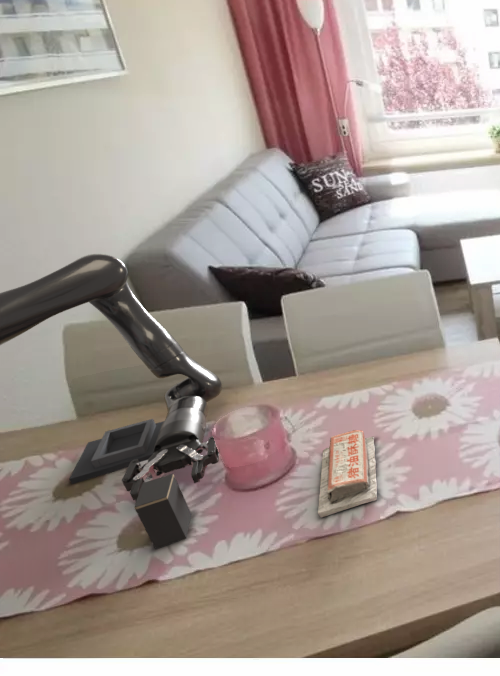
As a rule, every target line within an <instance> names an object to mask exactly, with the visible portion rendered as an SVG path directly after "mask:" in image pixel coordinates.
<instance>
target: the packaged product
mask: <svg viewBox="0 0 500 676" xmlns="http://www.w3.org/2000/svg"><path fill="white" fill-rule="evenodd" d="M329 438H330V439H329V446H328V447H326V448H324V449H323V450H322V457H321V472H320V473H321V474H320V482H319V483H320V484H319V496H318V507H317V508H318V510H317V514H318V516H319V517H320V518H325V517H327V516H331V515H334V514H336V513H339V512H342V511H345V510H348V509H352V508H354V507H357V506H361V505H364V504H367V503H371V502H375V501H378V490H377V489H378V488H377V487H378V486H377V474H376V473H377V472H376V466H377V465H376V463H377V460H376V455H375V454H376V448H375V447H376V446H375V437H374V436H369V437H365V433H364V431H363V430H361V429H360V430H357V429H353V430H350V431H347V432H342V433H339V434H336V435H332V436H330V437H329Z"/></svg>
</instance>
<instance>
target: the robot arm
mask: <svg viewBox="0 0 500 676" xmlns="http://www.w3.org/2000/svg"><path fill="white" fill-rule="evenodd" d="M128 276H129V272H128V268H127V266H126V265H125V263H124V262H123V261H122V260H120V259H119V258H117V257H116V256H113V255H110V254H106V253H91V254H86V255H84V256H81V257H79V258H77V259H76V260H74V261H72V262H71V263H68V264H66V265H65V266H63V267H60V268H59V269H56V270H55V271H53V272H51V273H49V274H47V275H45V276H42V277H40V278H38V279H36V280H34V281H31V282H29V283H27V284H24V285H21V286H18V287H15V288H11V289H8V290H4V291H0V346H2V345H3V344H4V345H5V344H6V343H8V342H9V341H11V340H13V339H15V338H17V337H19V336H21V335H22V334H24V333H26V332H28V331H29V330H31V329H33V328H35V327H36V326H38V325H40V324H41V323H43V322H45V321H46V320H48V319H50V318H52V317H55V316H56V315H59V314H62V313H63V312H66V311H68V310H71V309H74V308H77V307H79V306H83V305H84V304H88V303H89V304H90V305H92V307H94V308H95V309H96V310H97V311H99V312H100V313H101V314H102V315H103V316H104V317H105V318H106V319H107V320H108V321H109V322H110V323H111V324H112V325H113V327H114V328H115V329H116V330H117V332H119V334H120V335H121V336H122V338H123V339H124V340H125V341H126V343H127V345H128V346H129V347H130V348H131V349H132V351H133V352H134V353H135V354H136V356H137V357H138V358H139V360H141V362H142V363H143V364H144V365H145V366H146V367H147V369H148V370H149V371H150V372H151V374H153V376H154V377H155V378H157V379H165V378H169V377H173V376H175V375H182V376H185V377H186V378H185V379H182V380H180V381H179V382H177V383H176V384H174V385H172V386H170V387H169V388H168V389H167V390H166V391H165V393H164V396H163V400H164V403H165V406H166V410H167V411H166V416H165V419H164V420H163V421H164V422H163V421H162V422H163V424H162V426H161V429H160V432H159V435H158V438H157V441H156V443H155V446H154V452H153V455H152V456H151V457H150V458H149V459H148V460H145V461H141V462H139V460H138V459H135V460H132V461H131V462H130V464H129V466H128V467H127V468H126V470H125V472H124V474H123V477H122V478H121V482H122V484H123V487H124V488H125V491H126V492H129V494H130V497H131V499H132V500H133V501H135V502H136V501H137V498H138V495H139V492H140V489H141V486H142V483H144V482H148V481H151V480H154V479H157V478H160V477H163V476H165V474H168V473H171V472H174V471H175V470H180V469H184V468H186V466H188V467H189V468H192V469H191V473H190V477H191V479H192V481H193V484H196V483H200V481H201V479H203V478H204V476H205V473H206V469H207V468H208V466H209V465H216V464H217V463H219V461H220V451H219V452H218V449H217V447H216V444H215V441H214V438H213V436H214V435H212V436H210V437H208V441H204V439H205V434H206V432H207V431H206V430H207V428H206V427H207V419H208V413H209V404H208V403H209V402H210V401H212V400H213V399H215V398H217V397H218V396H220V394H221V393H222V391H223V383H222V380H221V379H220V376H218V375H217V374H216V373H214V372H213V371H211V370H210V369H208V367H207V368H206V367H205V366H204V365H202V364H201V363H199V362H198V361H196V360H195V359H194V358H193V357H191V355H190V354H188V353H187V352H186V351H185V350H184V348H183V347H182V346H181V345H180V343H179V342H178V341H177V340H176V339H175V338H174V336H173V335H172V334H171V333H170V332H169V331H168V330H167V329H166V328H165V327H164V326H163V325H162V324H161V323H160V322H159V321H158V320H157V319H156V318H155V317H154V316H152V314H151V313H150V312H149V311H148V310H147V309H146V308H145V307H144V306H143V305H142V303H141V302H140V301H139V299H138V298H137V297H136V296H135V294H134V292H133V291H132V289H131V287H130V285H129V283H128V278H129V277H128ZM203 441H204V442H203ZM204 450H205V451H206V452H207V454H205V455H203V454H202V453H203V451H204ZM156 471H157V472H156ZM145 477H146V478H145ZM144 478H145V479H144Z"/></svg>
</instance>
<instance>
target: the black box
mask: <svg viewBox="0 0 500 676" xmlns="http://www.w3.org/2000/svg"><path fill="white" fill-rule="evenodd" d="M133 509H134V510H135V513H136V514H137V516H138V518H139V521H140V522H141V524H142V526H143V527H144V530H145V531H146V533H147V535H148V538H149V539H150V542H151V543H152V545H153V547H154V549H155V550H158V549H161V548H163V547H166V546H169V545H172V544H175V543H178V542H180V541H183V540H186V539H187V538H188V534H189V533H188V532H189V528H190V524H191V519H192V514H193V513H192V512H191V509H190V507H189V505H188V502H187V501H186V498H185V497H184V494H183V492H182V490H181V488H180V485H179V483H178V481H177V479H176V476H175V474H174V473H170V474H168V475H163V476H161V477H160V478H157V479H154V480H151V481H148V482H144V483H142V486H141V489H140V492H139V495H138V498H137V501H136V500H135V503H134V506H133Z"/></svg>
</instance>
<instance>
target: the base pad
mask: <svg viewBox="0 0 500 676" xmlns="http://www.w3.org/2000/svg"><path fill="white" fill-rule="evenodd" d="M164 421H165V420H163V421H159V422H155V420H154V418H150V419H145V420H143V421H142V420H141V421H139V422H136V423H135V422H134V423H131V424H127V425H123V426H120V427H117V428H114V429H110V430H107V431H104V433H103V436H102V437H101V438H99V439H95V440H92V441H89V442H87V444H86V446H85V448H84V449H83V452H82V453H81V456H80V457H79V459H78V461H77V463H76V465H75V466H74V469H73V471H72V473H71V475H70V477H69V478H68V479H69V481H70V483H71V485H74V484H78V483H79V482H84V481H87V480H90V479H94V478H97V477H100V476H104V475H107V474H110V473H114V472H117V471H120V470H124V469H127V468H128V466H129V464H130V462H131V461H132V460H135V459H138V460H139V462H141V461H145V460H148V459H149V458H150V457H151V456H152V455H153V452H154V446H155V443H156V441H157V438H158V435H159V432H160V429H161V426H162V424H163V422H164Z"/></svg>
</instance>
